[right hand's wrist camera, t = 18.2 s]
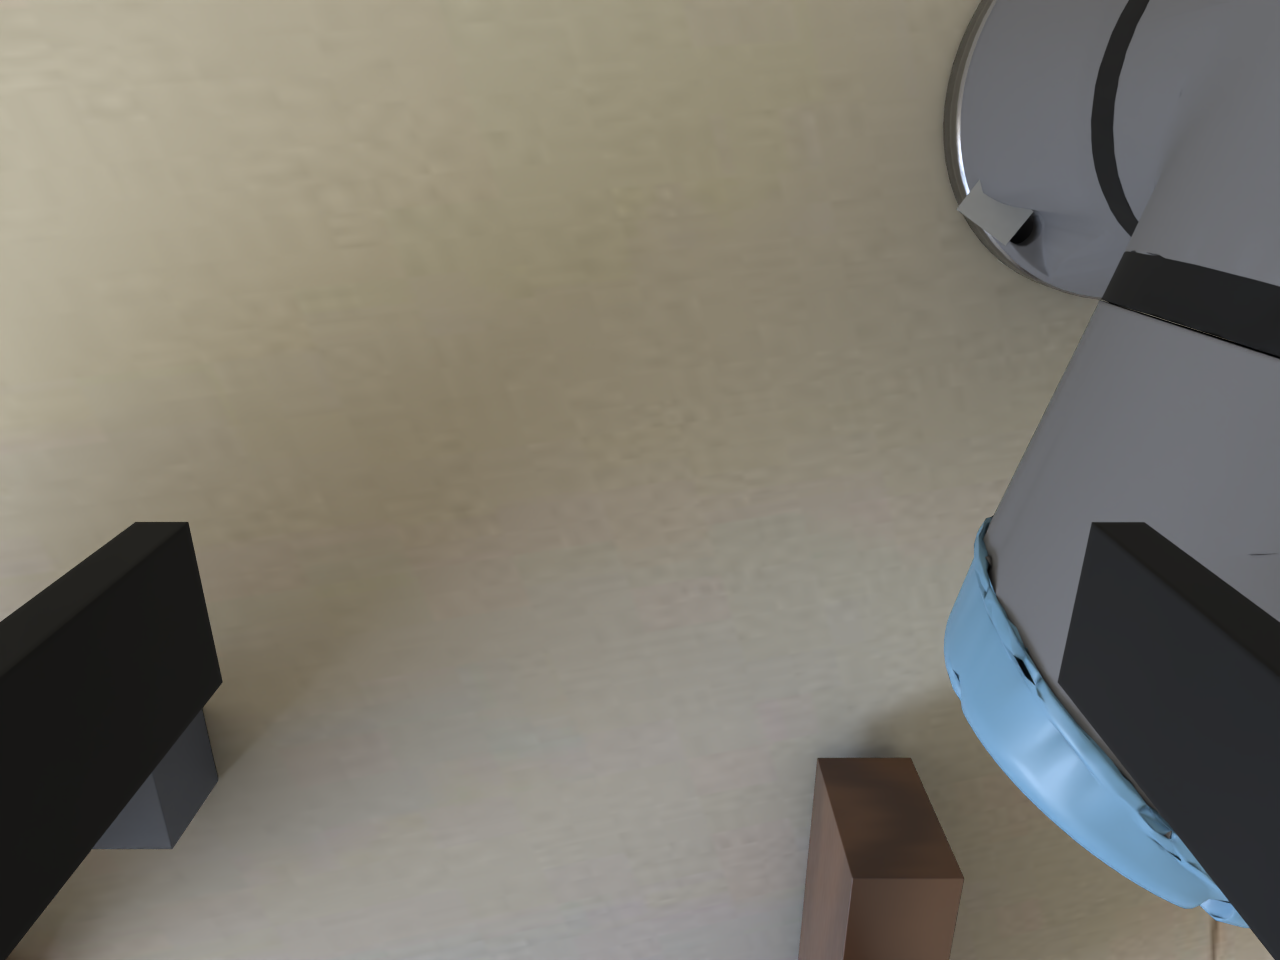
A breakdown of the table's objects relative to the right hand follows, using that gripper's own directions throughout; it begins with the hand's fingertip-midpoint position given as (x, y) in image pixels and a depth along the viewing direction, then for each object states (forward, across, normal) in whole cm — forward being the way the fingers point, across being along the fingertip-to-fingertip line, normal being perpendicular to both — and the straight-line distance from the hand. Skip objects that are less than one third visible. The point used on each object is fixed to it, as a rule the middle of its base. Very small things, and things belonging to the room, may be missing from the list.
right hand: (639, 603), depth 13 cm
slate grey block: (+27, +26, +24) cm, 44 cm away
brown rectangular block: (+26, -12, +36) cm, 46 cm away
